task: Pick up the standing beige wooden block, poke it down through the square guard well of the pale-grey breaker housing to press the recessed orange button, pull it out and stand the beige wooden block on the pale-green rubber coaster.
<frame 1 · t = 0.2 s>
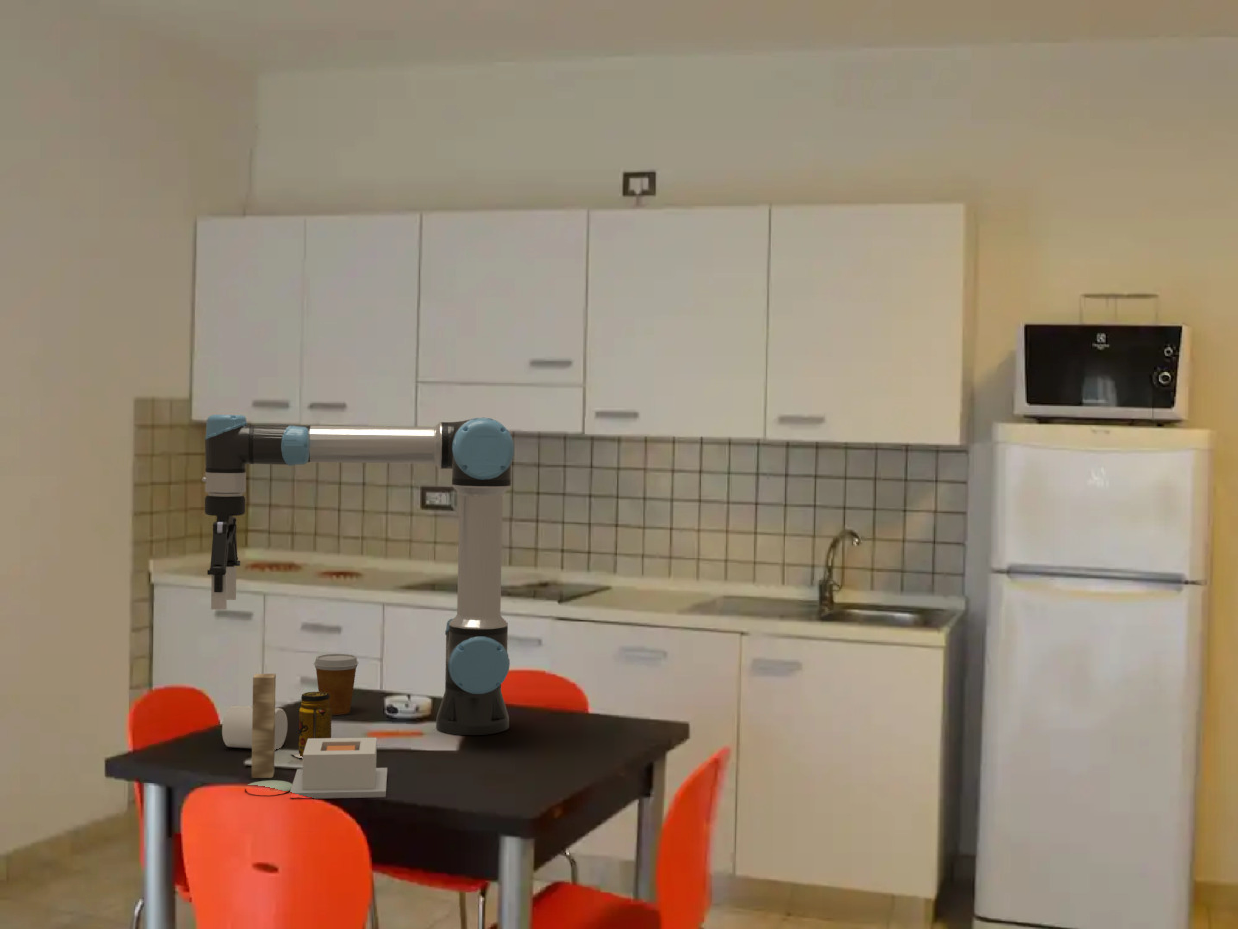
hand: (223, 604, 272), 28 cm above the table, tool pointing down, fingers open, 13 cm apart
mug: (259, 746, 275), on the table
coaster: (268, 790, 243), on the table
breaker housing: (340, 785, 247), on the table
button: (340, 758, 247), point 5 cm above the table, slide at 0.0 cm
disposable coffee cup: (335, 713, 307), on the table
condiment: (319, 757, 268), on the table
beige wooden block: (263, 775, 253), on the table
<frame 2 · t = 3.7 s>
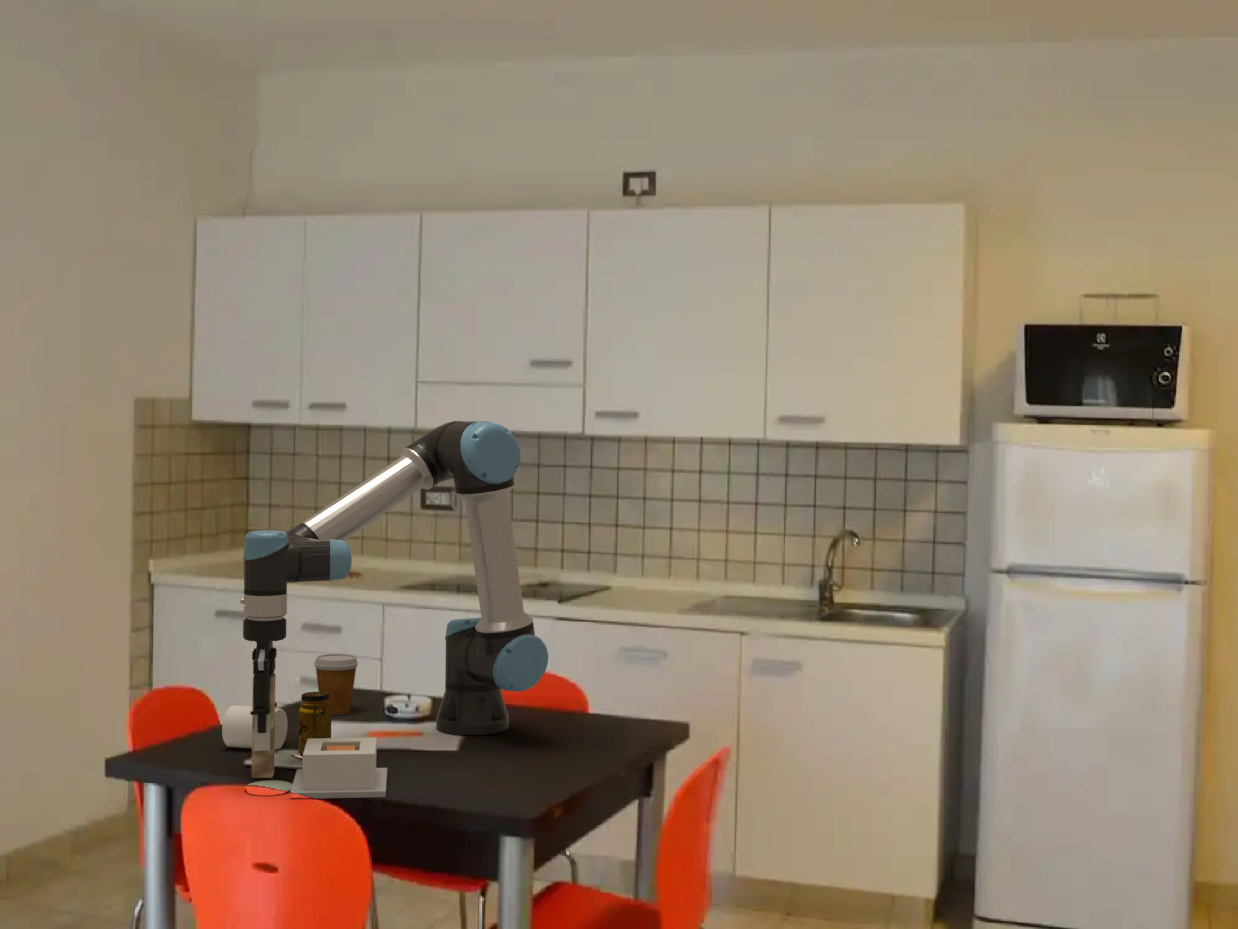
hand: (263, 747, 253), 5 cm above the table, tool pointing down, fingers closed on beige wooden block, 4 cm apart
beige wooden block: (263, 775, 253), on the table, touching gripper
everything else where it was.
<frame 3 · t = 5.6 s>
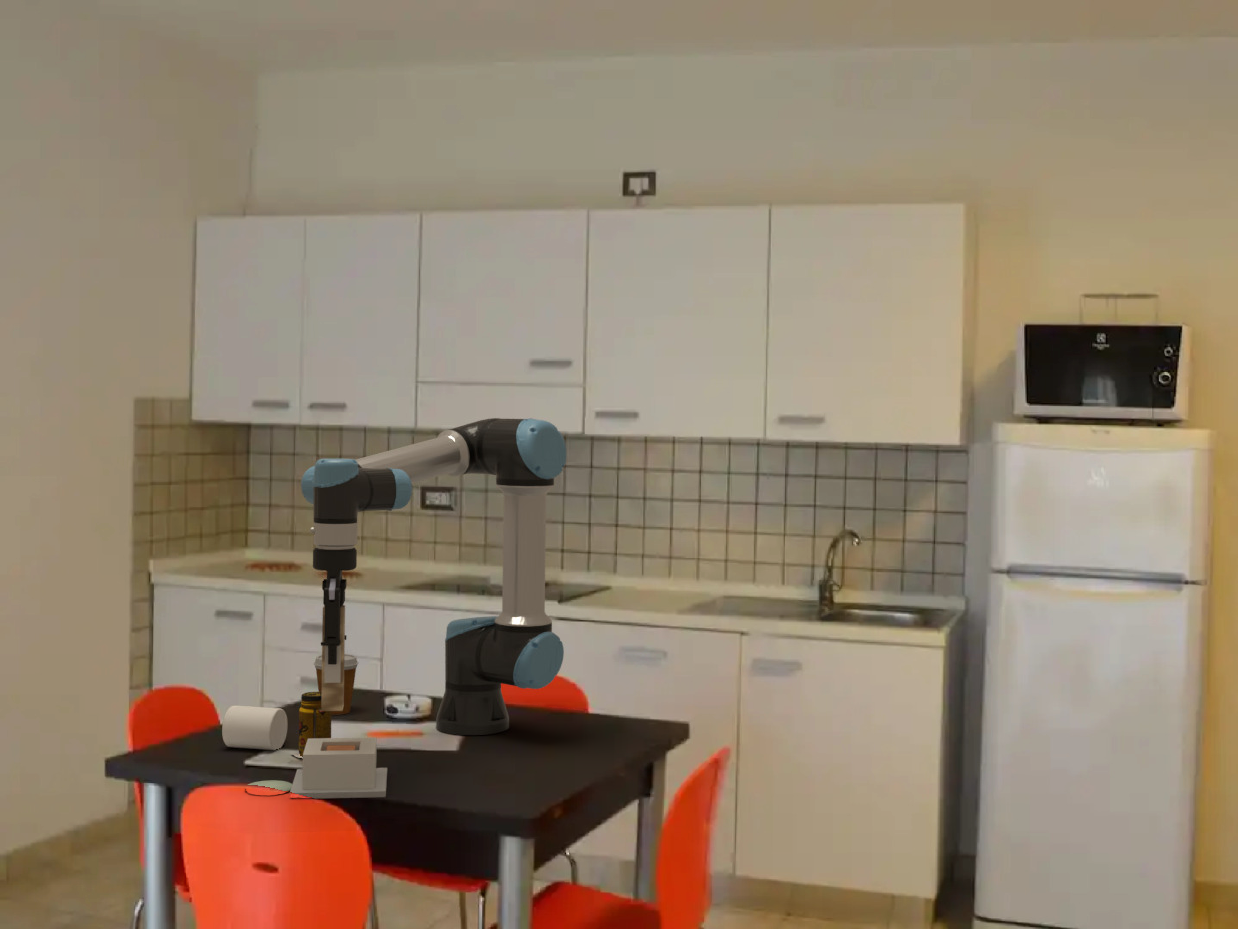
hand: (333, 679, 247), 19 cm above the table, tool pointing down, fingers closed on beige wooden block, 4 cm apart
beige wooden block: (332, 708, 247), point 13 cm above the table, touching gripper
everything else where it was.
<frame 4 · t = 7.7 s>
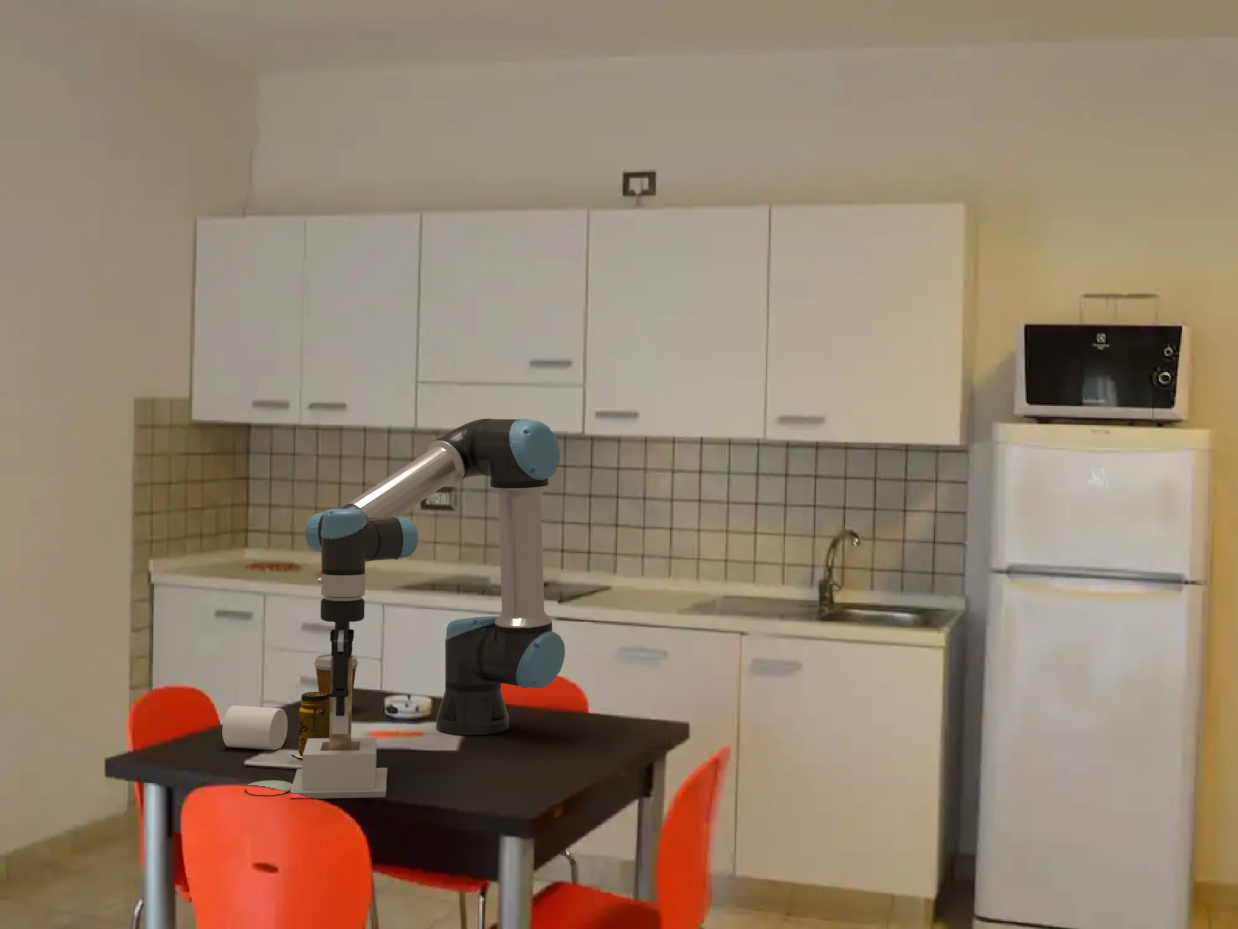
hand: (340, 730, 247), 10 cm above the table, tool pointing down, fingers closed on beige wooden block, 4 cm apart
button: (340, 769, 247), point 3 cm above the table, slide at 1.9 cm, touching beige wooden block
beige wooden block: (340, 759, 247), point 5 cm above the table, touching button, gripper
everything else where it was.
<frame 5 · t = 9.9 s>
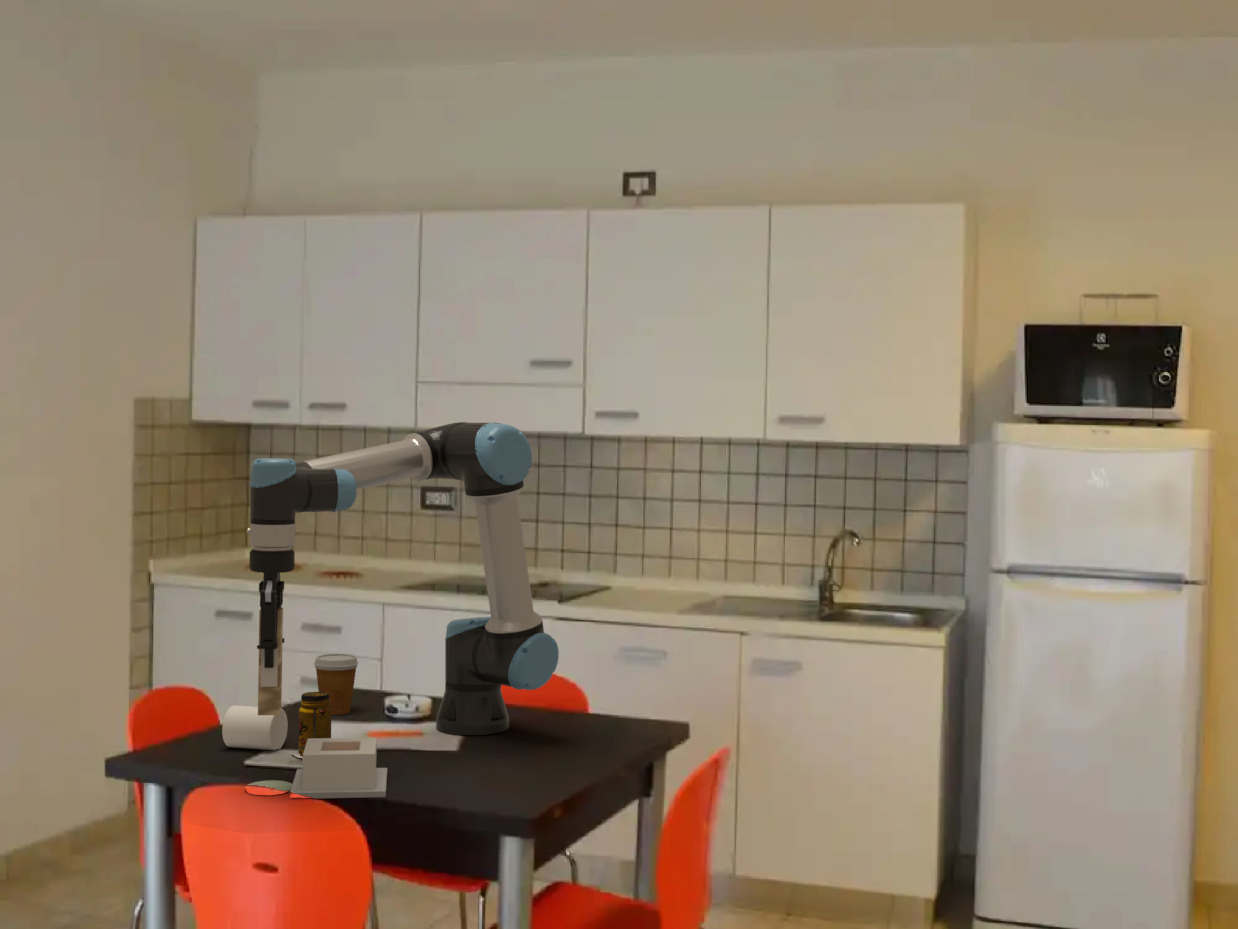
hand: (270, 683, 243), 18 cm above the table, tool pointing down, fingers closed on beige wooden block, 4 cm apart
button: (340, 769, 247), point 3 cm above the table, slide at 1.9 cm
beige wooden block: (269, 713, 243), point 13 cm above the table, touching gripper
everything else where it was.
when the fingers open (7 cm above the table, at t = 12.2 s): beige wooden block drops 1 cm, resting on coaster.
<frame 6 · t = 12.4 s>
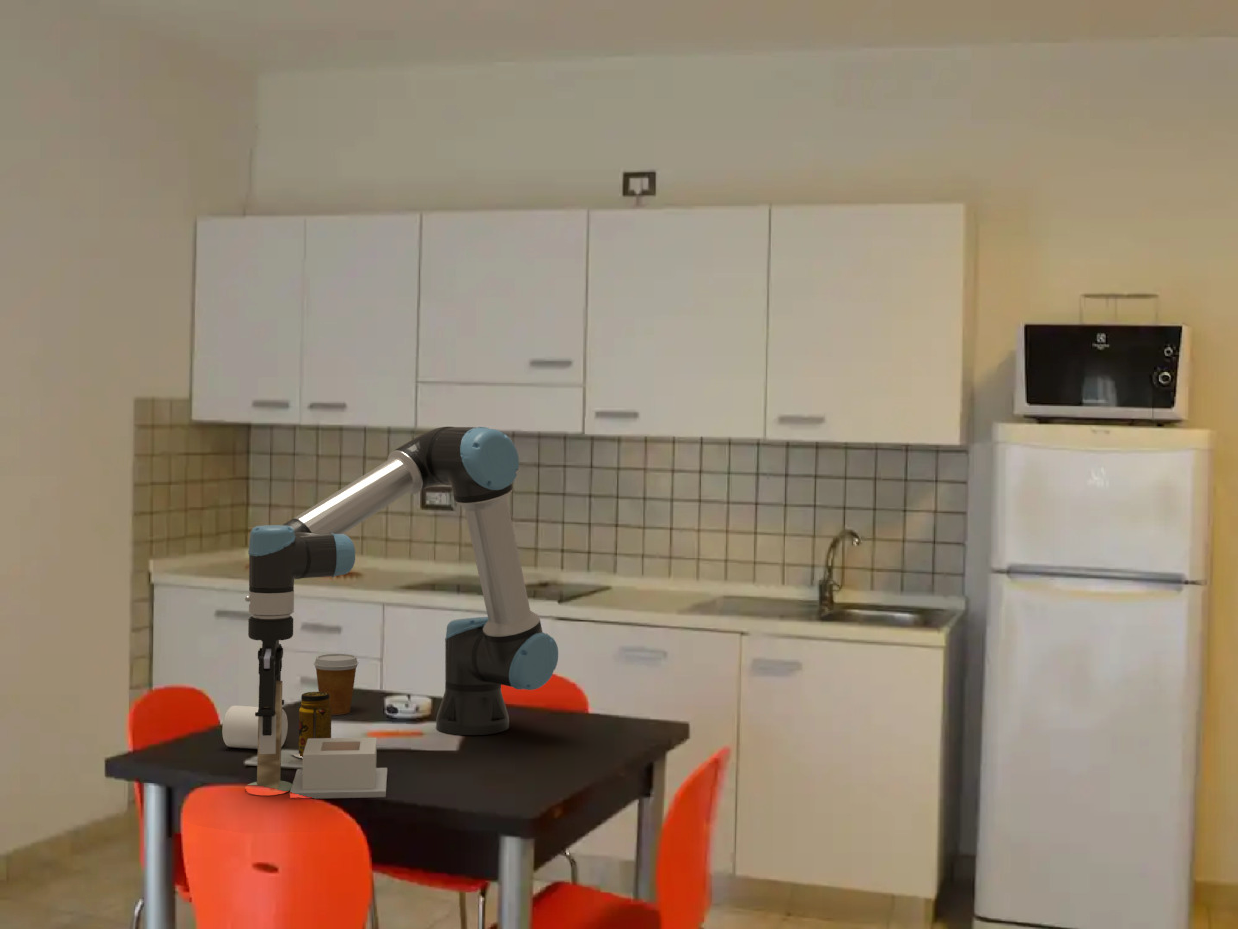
hand: (269, 748, 243), 7 cm above the table, tool pointing down, fingers open, 7 cm apart
beige wooden block: (268, 786, 243), point 1 cm above the table, touching coaster
everything else where it was.
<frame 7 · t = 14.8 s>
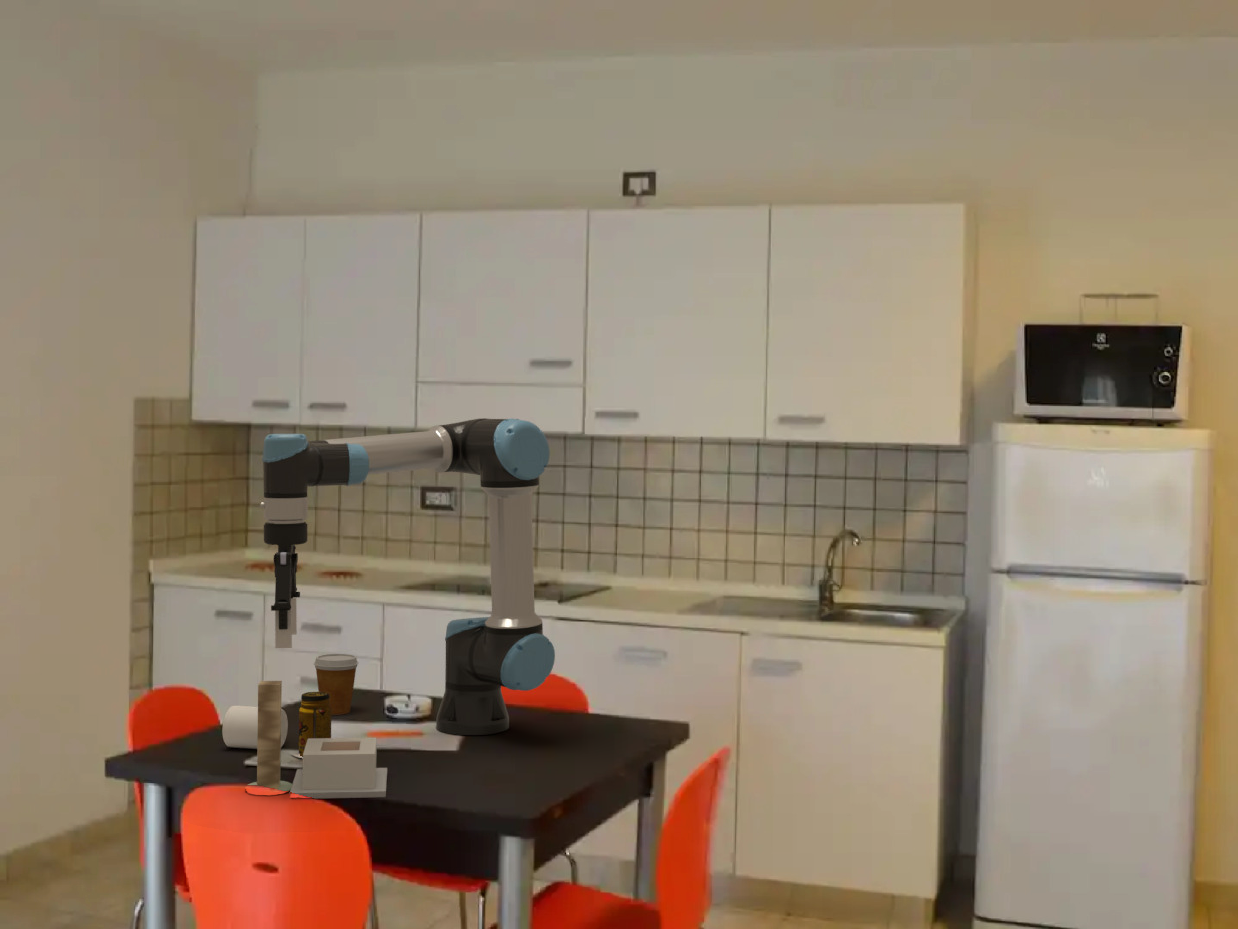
hand: (286, 641, 249), 25 cm above the table, tool pointing down, fingers open, 13 cm apart
nothing on the table moved.
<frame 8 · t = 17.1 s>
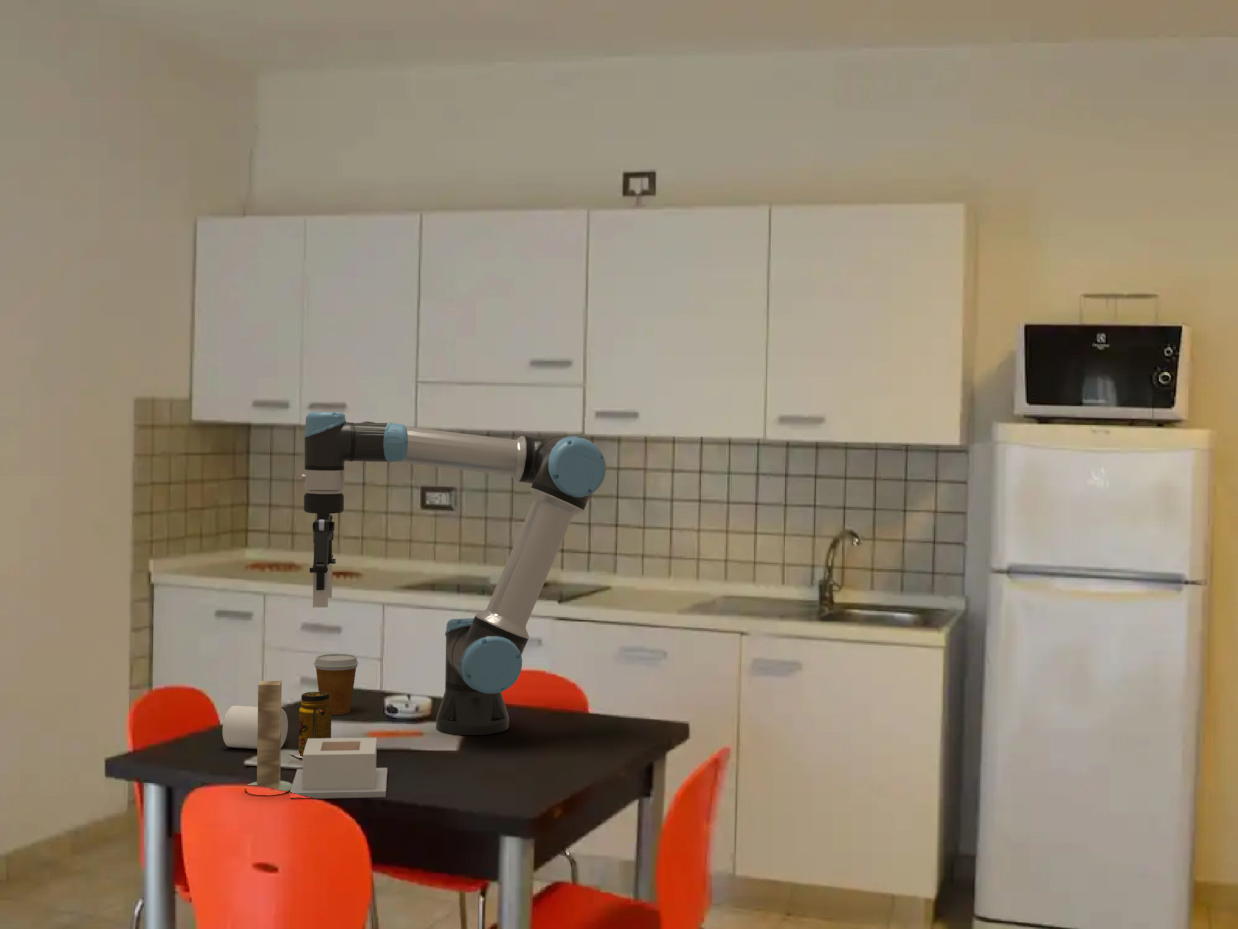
hand: (322, 602, 271), 29 cm above the table, tool pointing down, fingers open, 13 cm apart
nothing on the table moved.
at the end: button slide at 1.9 cm; beige wooden block inside the target area on the coaster (0.0 cm from its centre), point 0.6 cm above the coaster's base; beige wooden block tilted 0° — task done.
